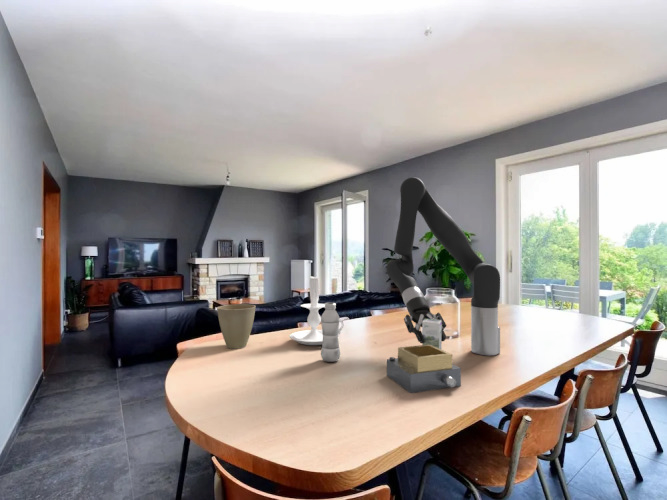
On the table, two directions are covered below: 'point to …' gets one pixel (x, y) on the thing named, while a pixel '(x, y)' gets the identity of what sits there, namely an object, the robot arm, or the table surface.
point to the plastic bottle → (330, 333)
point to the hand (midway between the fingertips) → (433, 341)
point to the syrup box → (432, 332)
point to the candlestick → (312, 318)
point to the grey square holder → (423, 369)
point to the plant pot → (236, 324)
